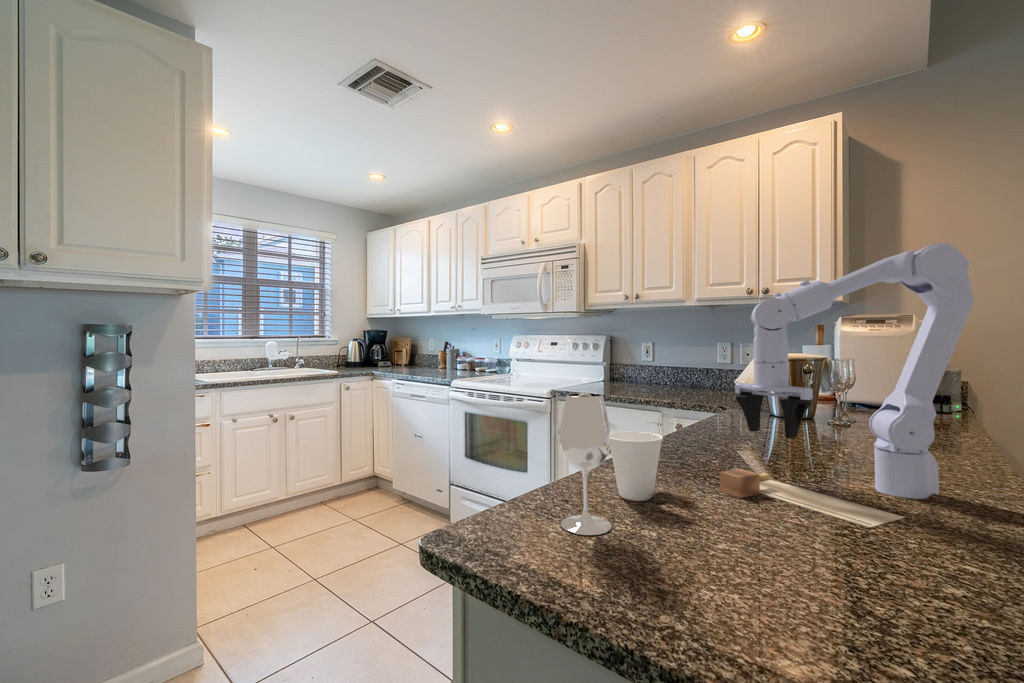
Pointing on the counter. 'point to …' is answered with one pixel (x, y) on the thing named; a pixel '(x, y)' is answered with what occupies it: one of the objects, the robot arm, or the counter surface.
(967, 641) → the counter surface
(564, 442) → the wineglass
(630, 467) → the cup
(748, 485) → the block
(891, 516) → the board
